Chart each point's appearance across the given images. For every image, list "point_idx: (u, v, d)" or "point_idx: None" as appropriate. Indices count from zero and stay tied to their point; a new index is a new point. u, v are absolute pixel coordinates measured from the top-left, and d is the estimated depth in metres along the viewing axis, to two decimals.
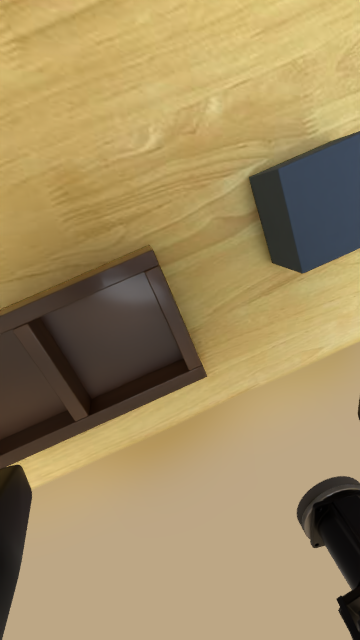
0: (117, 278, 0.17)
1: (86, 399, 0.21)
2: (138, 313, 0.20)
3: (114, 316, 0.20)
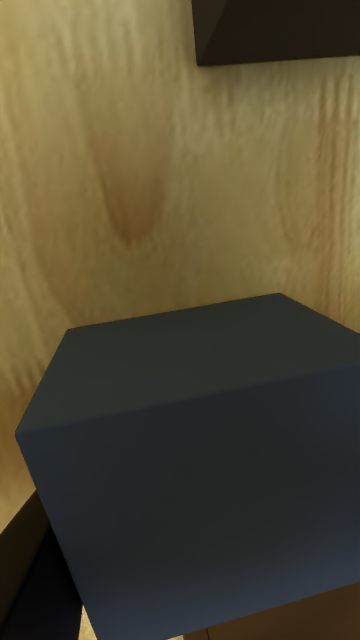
0: None
1: None
2: None
3: None
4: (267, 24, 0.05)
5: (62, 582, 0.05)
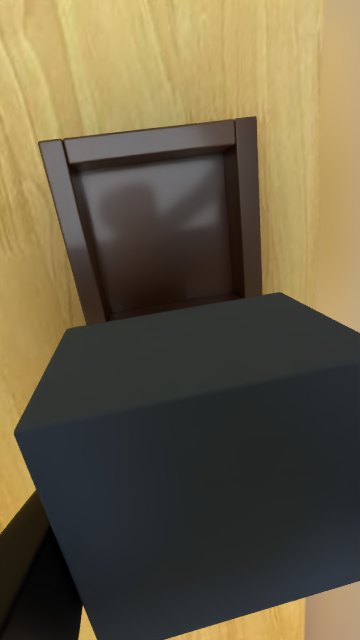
0: (71, 205, 0.13)
1: (227, 297, 0.17)
2: (139, 197, 0.15)
3: (135, 230, 0.16)
4: None
5: (62, 582, 0.05)
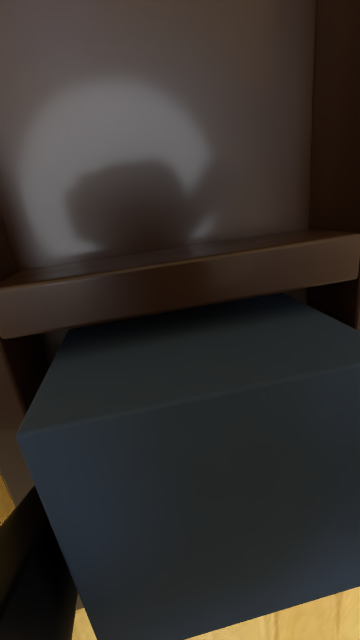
0: None
1: (305, 233, 0.07)
2: None
3: (74, 34, 0.06)
4: None
5: (54, 584, 0.05)
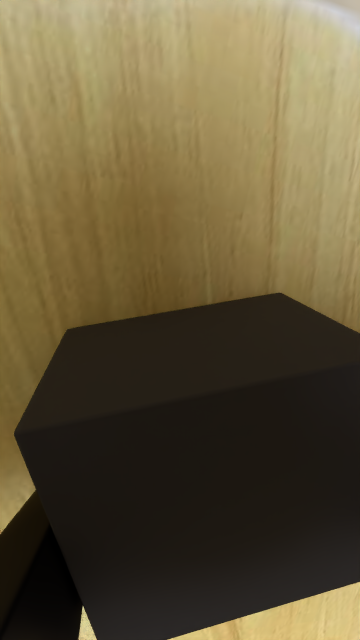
0: None
1: None
2: None
3: None
4: None
5: (62, 582, 0.05)
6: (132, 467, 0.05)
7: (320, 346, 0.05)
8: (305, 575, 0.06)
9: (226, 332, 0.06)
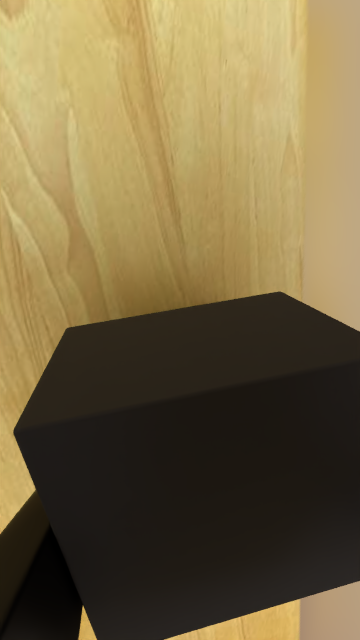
0: None
1: None
2: None
3: None
4: None
5: (62, 582, 0.05)
6: (132, 466, 0.05)
7: (320, 344, 0.05)
8: (306, 574, 0.06)
9: (226, 331, 0.06)
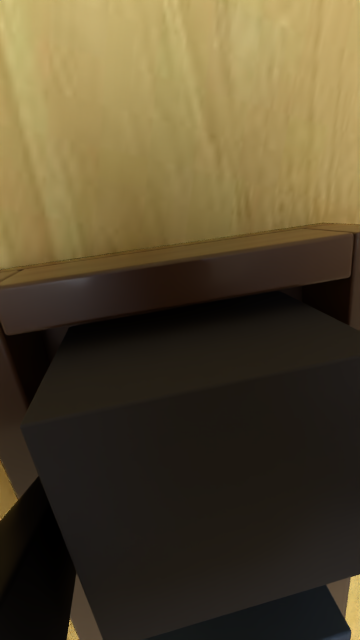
0: (14, 407, 0.06)
1: None
2: None
3: None
4: None
5: (49, 586, 0.05)
6: (134, 461, 0.05)
7: (318, 341, 0.05)
8: (305, 568, 0.07)
9: (226, 329, 0.06)
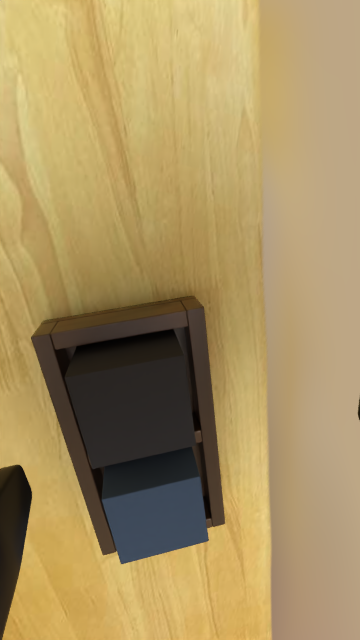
0: (57, 376, 0.17)
1: None
2: None
3: None
4: None
5: None
6: (99, 390, 0.15)
7: (164, 352, 0.16)
8: (169, 439, 0.17)
9: (138, 346, 0.17)
